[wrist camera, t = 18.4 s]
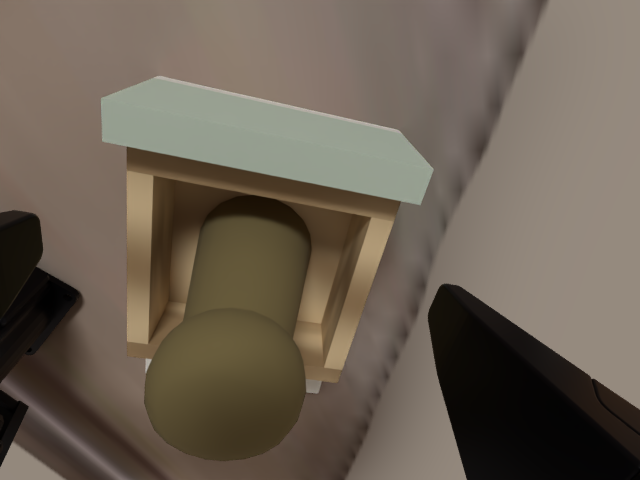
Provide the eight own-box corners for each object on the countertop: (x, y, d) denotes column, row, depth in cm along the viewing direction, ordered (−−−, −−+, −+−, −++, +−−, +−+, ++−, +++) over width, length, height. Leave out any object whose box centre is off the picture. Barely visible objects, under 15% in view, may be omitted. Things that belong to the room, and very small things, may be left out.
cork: (289, 304, 23) (280, 502, 14) (186, 274, 22) (98, 469, 12) (329, 217, 21) (353, 387, 11) (215, 177, 20) (132, 330, 10)
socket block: (331, 327, 26) (337, 382, 22) (155, 301, 24) (127, 356, 20) (381, 166, 21) (401, 200, 17) (162, 119, 19) (126, 145, 15)
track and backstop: (317, 384, 29) (321, 468, 24) (149, 363, 28) (111, 448, 22) (398, 129, 21) (433, 169, 15) (159, 75, 19) (101, 98, 13)
